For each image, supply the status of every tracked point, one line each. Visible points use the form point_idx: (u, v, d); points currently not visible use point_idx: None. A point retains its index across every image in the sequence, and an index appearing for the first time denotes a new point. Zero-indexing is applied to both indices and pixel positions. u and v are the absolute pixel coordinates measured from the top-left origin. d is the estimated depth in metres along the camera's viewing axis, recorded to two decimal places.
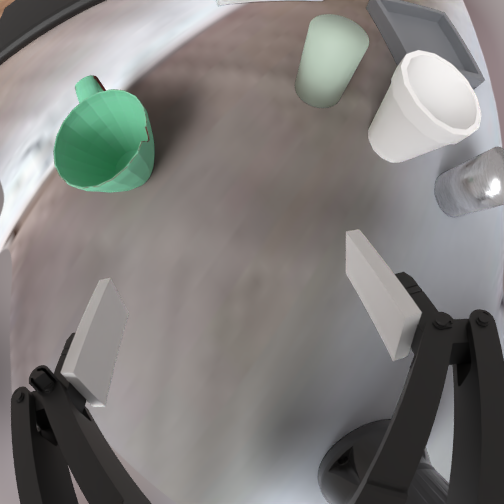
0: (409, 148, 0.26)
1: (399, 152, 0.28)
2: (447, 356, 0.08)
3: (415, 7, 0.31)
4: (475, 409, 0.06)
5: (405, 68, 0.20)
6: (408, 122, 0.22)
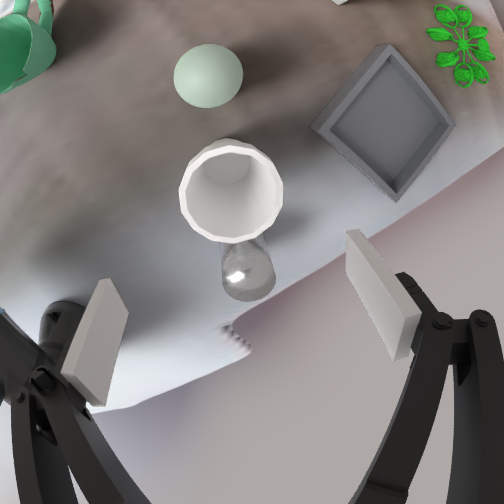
0: None
1: None
2: (447, 356, 0.08)
3: (425, 93, 0.31)
4: (475, 409, 0.06)
5: (207, 156, 0.24)
6: None
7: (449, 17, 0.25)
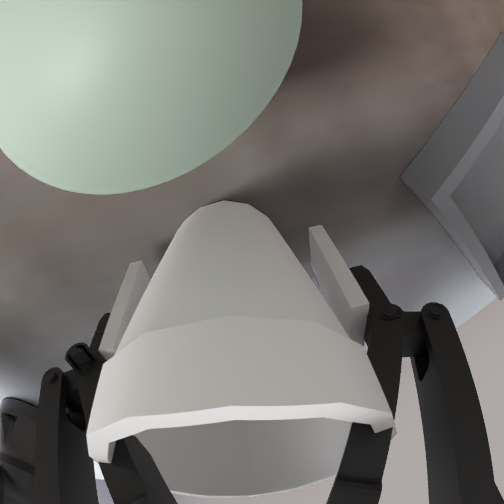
0: None
1: None
2: (400, 346, 0.09)
3: None
4: (440, 403, 0.07)
5: (143, 426, 0.05)
6: None
7: None
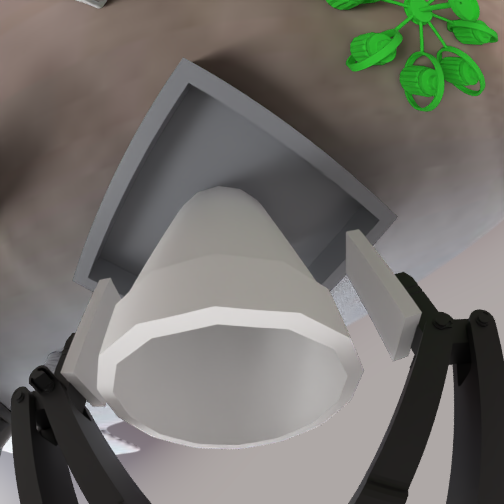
0: None
1: None
2: (447, 356, 0.08)
3: (304, 158, 0.16)
4: (475, 409, 0.06)
5: (147, 335, 0.07)
6: None
7: None
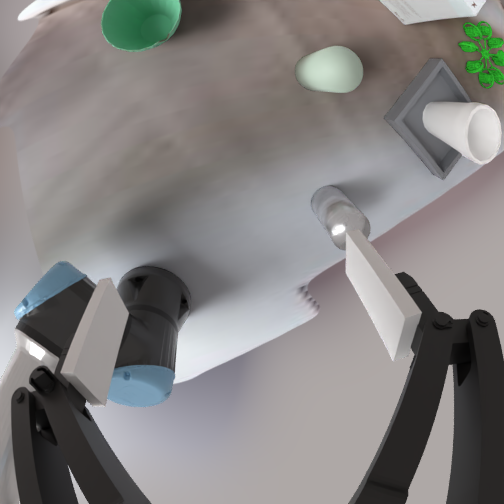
0: (441, 131, 0.37)
1: (434, 127, 0.39)
2: (447, 356, 0.08)
3: (464, 97, 0.37)
4: (475, 409, 0.06)
5: (479, 108, 0.29)
6: (454, 123, 0.33)
7: (475, 33, 0.30)
